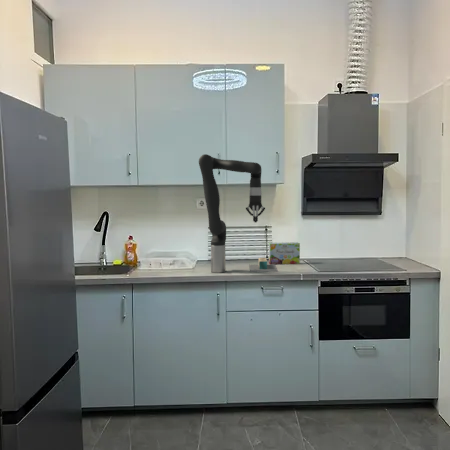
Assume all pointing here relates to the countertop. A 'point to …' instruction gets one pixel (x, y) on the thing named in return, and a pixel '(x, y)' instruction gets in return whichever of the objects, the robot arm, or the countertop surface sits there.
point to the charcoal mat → (269, 269)
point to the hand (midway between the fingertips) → (255, 222)
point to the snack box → (284, 253)
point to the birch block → (262, 263)
